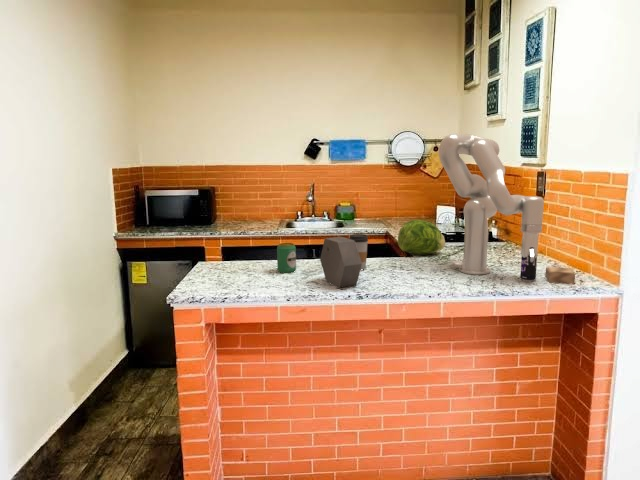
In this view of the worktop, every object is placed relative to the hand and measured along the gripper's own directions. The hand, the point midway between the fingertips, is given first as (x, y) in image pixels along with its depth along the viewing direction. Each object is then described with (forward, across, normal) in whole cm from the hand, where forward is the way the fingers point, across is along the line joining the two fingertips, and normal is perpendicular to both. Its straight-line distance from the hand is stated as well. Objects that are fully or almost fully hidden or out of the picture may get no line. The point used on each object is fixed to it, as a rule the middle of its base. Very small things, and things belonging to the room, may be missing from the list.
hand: (528, 272), depth 193 cm
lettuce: (+3, -42, -45) cm, 62 cm away
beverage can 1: (+3, +10, -98) cm, 99 cm away
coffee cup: (+3, -2, -69) cm, 69 cm away
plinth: (+3, -3, +12) cm, 13 cm away
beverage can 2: (+3, 0, 0) cm, 3 cm away
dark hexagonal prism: (+3, +23, -71) cm, 75 cm away
